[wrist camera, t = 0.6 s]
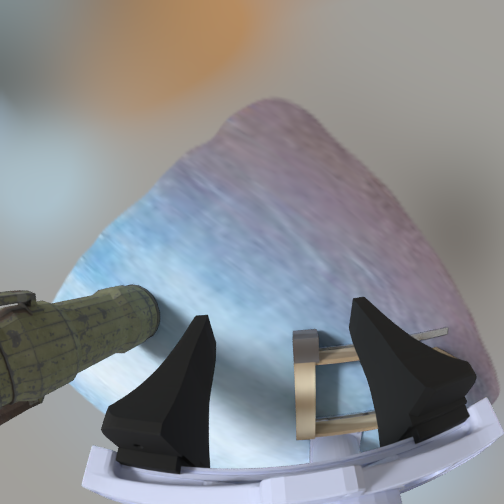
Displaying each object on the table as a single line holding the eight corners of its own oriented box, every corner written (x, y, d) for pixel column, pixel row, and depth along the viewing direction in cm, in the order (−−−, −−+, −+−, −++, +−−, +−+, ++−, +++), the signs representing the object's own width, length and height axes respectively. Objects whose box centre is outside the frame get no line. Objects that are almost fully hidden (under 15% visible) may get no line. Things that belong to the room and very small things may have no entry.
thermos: (115, 343, 39) (-69, 424, 4) (113, 271, 39) (-107, 293, 4) (161, 355, 38) (-33, 484, 3) (161, 277, 38) (-102, 322, 3)
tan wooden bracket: (376, 415, 32) (382, 429, 28) (297, 425, 34) (296, 440, 30) (382, 320, 32) (391, 328, 28) (292, 330, 34) (292, 339, 30)
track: (436, 399, 31) (437, 400, 31) (297, 423, 35) (297, 425, 34) (446, 326, 31) (447, 327, 31) (294, 349, 35) (294, 350, 34)
